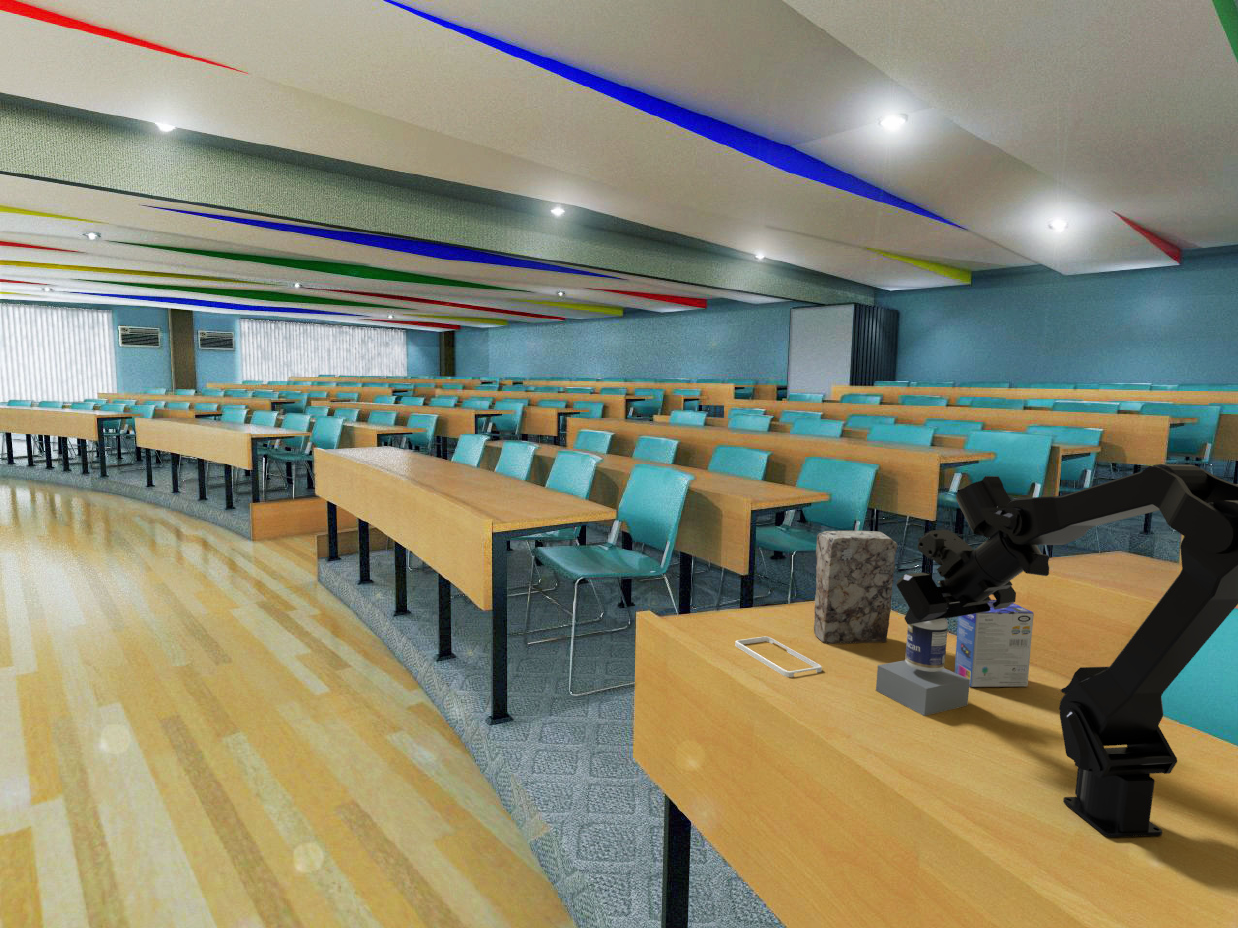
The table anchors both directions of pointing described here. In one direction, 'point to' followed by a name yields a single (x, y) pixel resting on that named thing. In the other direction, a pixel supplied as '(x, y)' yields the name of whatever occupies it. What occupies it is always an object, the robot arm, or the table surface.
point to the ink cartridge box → (995, 646)
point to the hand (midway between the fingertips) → (920, 619)
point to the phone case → (775, 667)
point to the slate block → (922, 687)
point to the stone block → (853, 586)
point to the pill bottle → (927, 645)
